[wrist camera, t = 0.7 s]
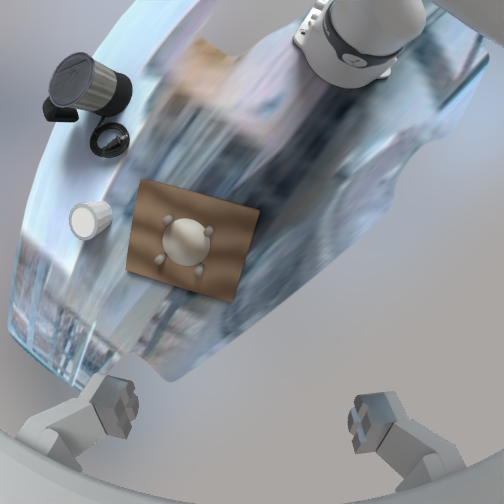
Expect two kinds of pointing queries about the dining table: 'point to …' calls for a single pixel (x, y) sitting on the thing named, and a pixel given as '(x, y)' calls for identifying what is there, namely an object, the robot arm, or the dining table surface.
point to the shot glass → (89, 219)
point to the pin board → (189, 239)
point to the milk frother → (89, 98)
